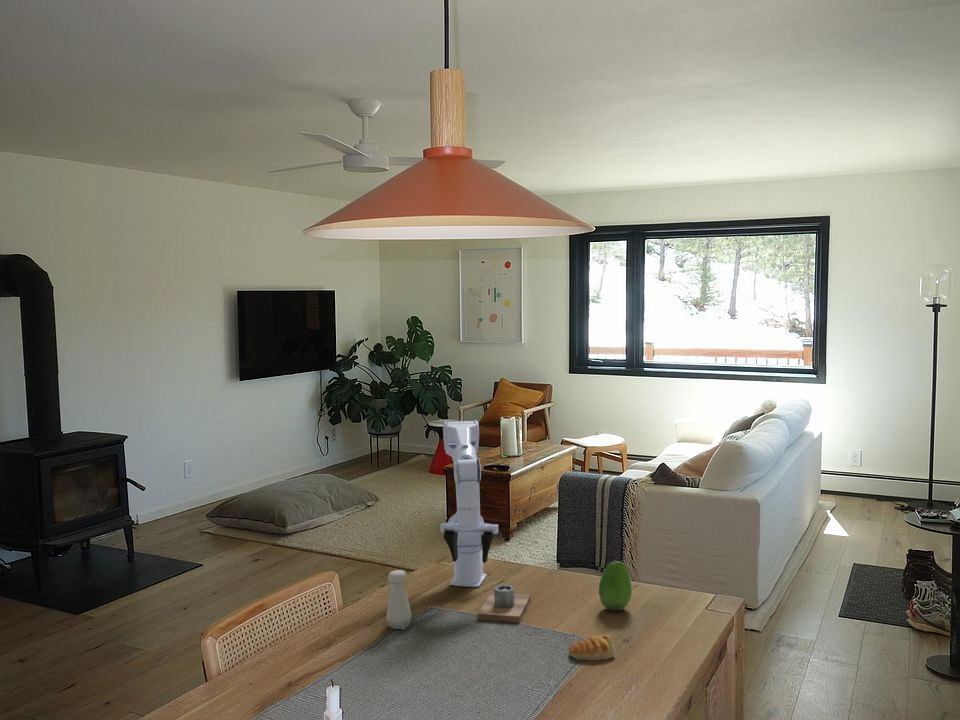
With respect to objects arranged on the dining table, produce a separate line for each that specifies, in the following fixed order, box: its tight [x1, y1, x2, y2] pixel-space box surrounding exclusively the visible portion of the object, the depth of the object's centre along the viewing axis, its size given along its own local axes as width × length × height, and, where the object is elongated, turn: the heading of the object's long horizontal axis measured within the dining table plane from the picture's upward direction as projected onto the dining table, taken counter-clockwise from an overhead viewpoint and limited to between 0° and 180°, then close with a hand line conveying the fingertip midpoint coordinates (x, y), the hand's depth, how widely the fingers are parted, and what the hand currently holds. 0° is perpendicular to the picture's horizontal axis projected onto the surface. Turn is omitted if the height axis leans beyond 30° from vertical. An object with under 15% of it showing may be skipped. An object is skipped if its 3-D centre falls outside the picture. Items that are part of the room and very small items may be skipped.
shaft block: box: [477, 589, 531, 624], centre depth 198 cm, size 14×10×5 cm
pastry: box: [568, 633, 616, 661], centre depth 172 cm, size 9×7×4 cm
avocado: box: [598, 560, 632, 612], centre depth 196 cm, size 8×8×12 cm
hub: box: [493, 584, 516, 608], centre depth 198 cm, size 5×5×4 cm
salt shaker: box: [385, 569, 412, 630], centre depth 190 cm, size 6×6×13 cm
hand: (470, 561), depth 205 cm, fingers open, 7 cm apart
